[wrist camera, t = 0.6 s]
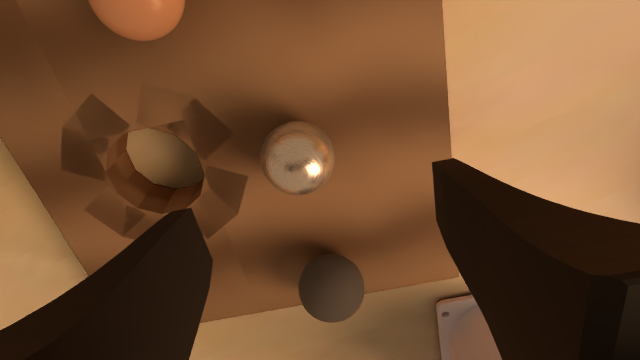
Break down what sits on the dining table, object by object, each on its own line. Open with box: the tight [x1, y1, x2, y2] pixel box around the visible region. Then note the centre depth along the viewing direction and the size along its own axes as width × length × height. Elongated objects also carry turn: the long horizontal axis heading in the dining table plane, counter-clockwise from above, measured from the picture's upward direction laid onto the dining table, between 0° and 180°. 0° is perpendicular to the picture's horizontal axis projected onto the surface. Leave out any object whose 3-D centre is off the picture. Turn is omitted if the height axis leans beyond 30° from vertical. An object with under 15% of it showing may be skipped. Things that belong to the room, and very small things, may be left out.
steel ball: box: [260, 121, 335, 196], centre depth 18 cm, size 3×3×3 cm
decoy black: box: [298, 254, 365, 322], centre depth 21 cm, size 3×3×3 cm
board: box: [0, 0, 459, 323], centre depth 20 cm, size 20×20×2 cm
